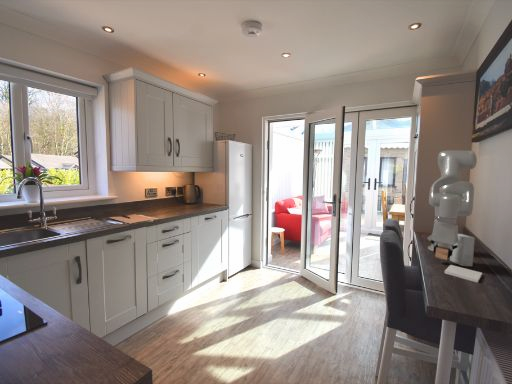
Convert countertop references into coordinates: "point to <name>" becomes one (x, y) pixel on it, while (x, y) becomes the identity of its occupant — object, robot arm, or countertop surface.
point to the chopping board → (463, 273)
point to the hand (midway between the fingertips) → (442, 254)
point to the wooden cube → (442, 252)
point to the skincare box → (463, 251)
